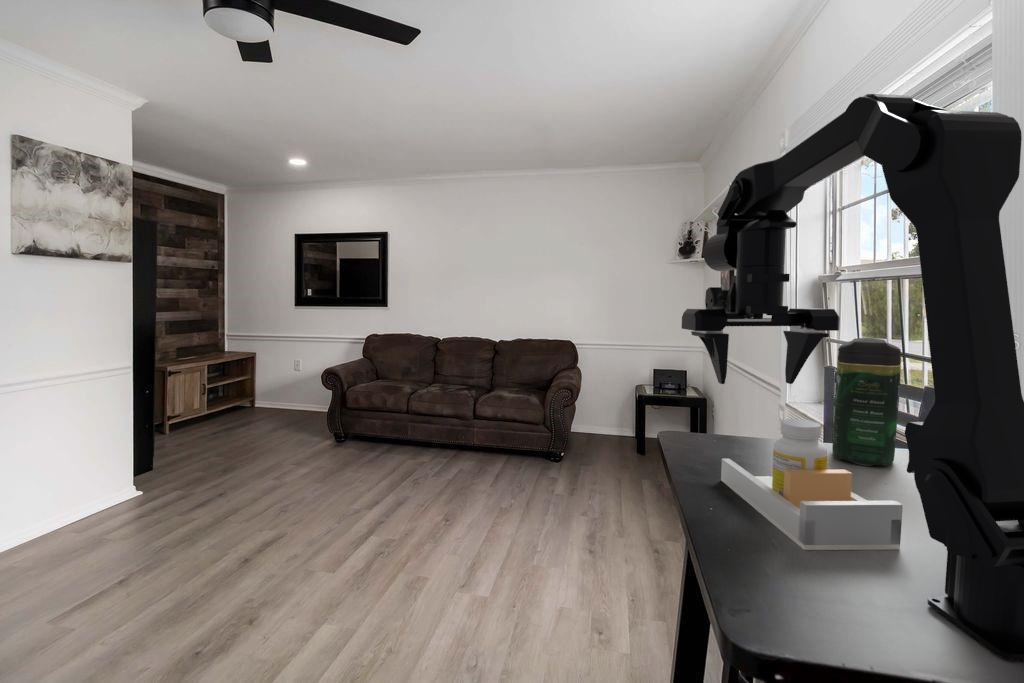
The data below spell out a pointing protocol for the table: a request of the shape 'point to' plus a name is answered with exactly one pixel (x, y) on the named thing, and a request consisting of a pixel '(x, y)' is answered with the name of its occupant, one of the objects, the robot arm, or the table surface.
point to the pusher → (817, 485)
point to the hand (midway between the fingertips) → (755, 383)
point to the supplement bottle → (797, 450)
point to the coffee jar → (867, 401)
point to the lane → (820, 515)
